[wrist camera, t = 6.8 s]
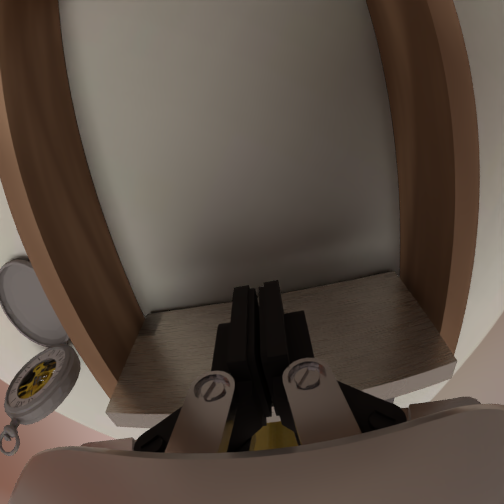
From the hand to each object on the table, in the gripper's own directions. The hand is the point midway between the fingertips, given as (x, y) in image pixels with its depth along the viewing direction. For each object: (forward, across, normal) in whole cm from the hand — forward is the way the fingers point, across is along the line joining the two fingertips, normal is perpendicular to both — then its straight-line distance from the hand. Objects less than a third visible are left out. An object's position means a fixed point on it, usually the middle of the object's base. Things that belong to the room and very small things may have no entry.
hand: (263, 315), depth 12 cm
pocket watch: (+4, +15, +1) cm, 16 cm away
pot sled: (+4, 0, +9) cm, 10 cm away
